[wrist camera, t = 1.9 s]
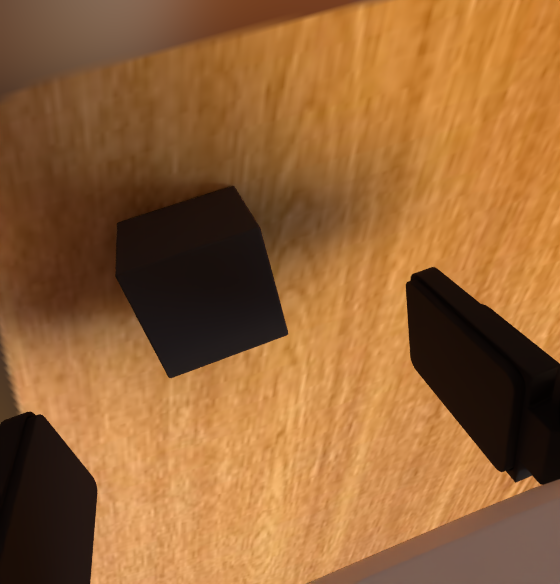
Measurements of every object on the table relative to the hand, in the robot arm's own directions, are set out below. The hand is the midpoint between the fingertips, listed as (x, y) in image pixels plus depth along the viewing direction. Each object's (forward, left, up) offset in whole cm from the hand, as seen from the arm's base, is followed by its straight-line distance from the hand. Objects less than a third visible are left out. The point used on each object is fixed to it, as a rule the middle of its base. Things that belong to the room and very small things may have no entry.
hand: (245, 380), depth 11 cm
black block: (-1, 0, -6) cm, 6 cm away
